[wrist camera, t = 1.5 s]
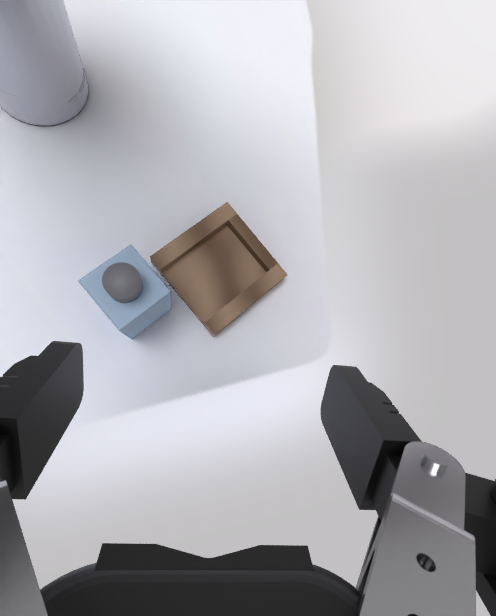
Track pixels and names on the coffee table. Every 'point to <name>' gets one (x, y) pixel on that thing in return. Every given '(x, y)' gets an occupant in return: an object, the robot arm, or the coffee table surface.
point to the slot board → (218, 268)
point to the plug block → (128, 292)
